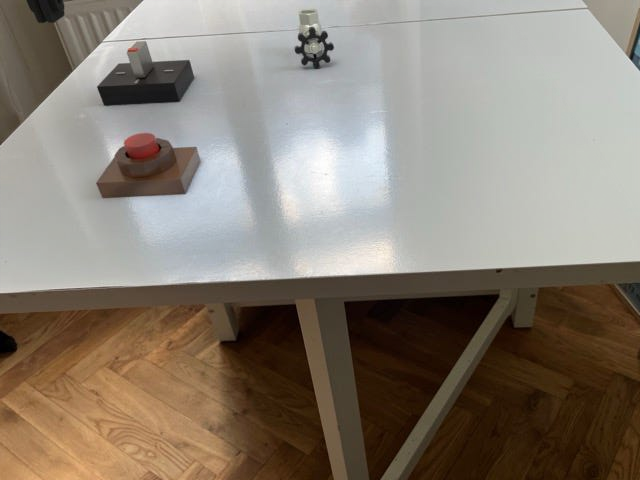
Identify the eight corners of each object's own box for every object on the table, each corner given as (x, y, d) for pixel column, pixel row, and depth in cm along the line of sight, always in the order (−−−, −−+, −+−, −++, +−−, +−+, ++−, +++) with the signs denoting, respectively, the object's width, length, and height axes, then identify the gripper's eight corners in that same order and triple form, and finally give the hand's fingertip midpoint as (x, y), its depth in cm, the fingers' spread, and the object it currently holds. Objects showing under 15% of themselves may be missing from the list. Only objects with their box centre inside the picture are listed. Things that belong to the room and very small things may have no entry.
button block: (102, 199, 66) (89, 169, 63) (124, 165, 72) (113, 137, 69) (185, 195, 66) (176, 165, 63) (201, 161, 72) (192, 133, 69)
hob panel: (103, 105, 87) (96, 85, 85) (124, 81, 95) (118, 62, 92) (179, 101, 87) (173, 81, 85) (194, 77, 94) (189, 58, 92)
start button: (124, 161, 65) (119, 147, 64) (134, 146, 68) (129, 133, 67) (154, 159, 65) (150, 146, 64) (163, 145, 68) (158, 132, 67)
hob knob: (144, 66, 91) (135, 39, 88) (154, 66, 91) (145, 39, 88) (135, 78, 87) (125, 50, 84) (145, 77, 87) (136, 50, 84)
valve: (294, 48, 103) (297, 71, 95) (288, 9, 99) (291, 30, 90) (329, 44, 104) (335, 67, 95) (325, 6, 100) (332, 26, 91)
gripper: (67, -208, 51) (131, 7, 63) (-94, -204, 51) (1, 10, 63) (28, -208, 45) (107, 28, 58) (-152, -204, 45) (-35, 31, 58)
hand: (52, 18), depth 60 cm, fingers closed
